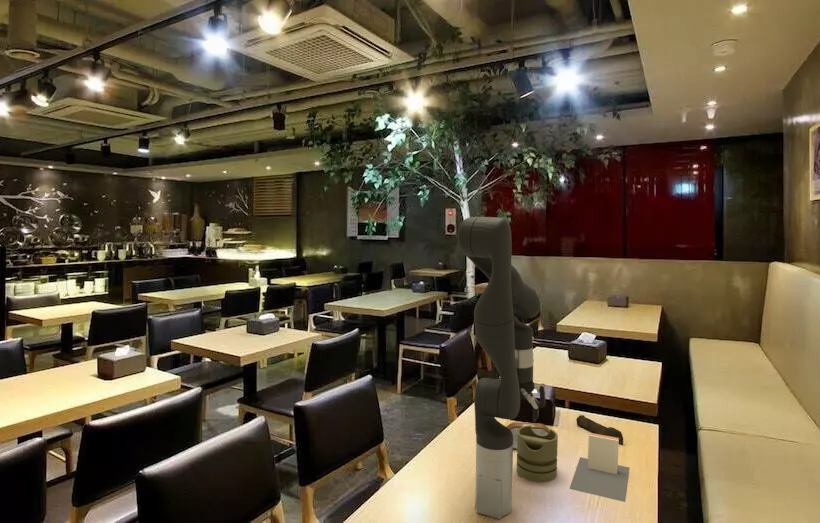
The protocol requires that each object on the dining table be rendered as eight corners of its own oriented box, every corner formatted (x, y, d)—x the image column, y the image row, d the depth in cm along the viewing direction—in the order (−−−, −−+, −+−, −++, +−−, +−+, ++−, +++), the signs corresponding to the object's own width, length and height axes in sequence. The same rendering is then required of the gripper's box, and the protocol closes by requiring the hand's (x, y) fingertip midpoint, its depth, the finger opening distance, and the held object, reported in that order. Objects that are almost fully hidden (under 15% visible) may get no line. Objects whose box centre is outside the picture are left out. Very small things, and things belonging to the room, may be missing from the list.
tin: (550, 448, 159) (551, 422, 159) (552, 452, 156) (553, 426, 156) (503, 445, 161) (503, 420, 160) (504, 450, 158) (504, 424, 157)
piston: (522, 422, 150) (560, 429, 145) (521, 460, 151) (559, 468, 146) (513, 437, 140) (554, 445, 135) (512, 478, 141) (553, 487, 136)
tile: (617, 474, 142) (618, 440, 141) (587, 468, 146) (588, 435, 145) (617, 471, 144) (618, 438, 143) (588, 465, 147) (589, 432, 146)
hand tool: (575, 426, 177) (575, 413, 176) (584, 424, 178) (584, 411, 178) (616, 449, 159) (616, 435, 159) (625, 446, 161) (626, 432, 160)
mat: (625, 503, 128) (625, 501, 128) (569, 490, 134) (569, 488, 134) (629, 468, 146) (629, 467, 146) (580, 458, 152) (580, 457, 152)
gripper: (491, 364, 135) (490, 420, 138) (544, 369, 130) (543, 427, 133) (496, 355, 142) (496, 409, 145) (547, 360, 137) (546, 415, 139)
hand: (518, 417), depth 139 cm, fingers open, 8 cm apart
